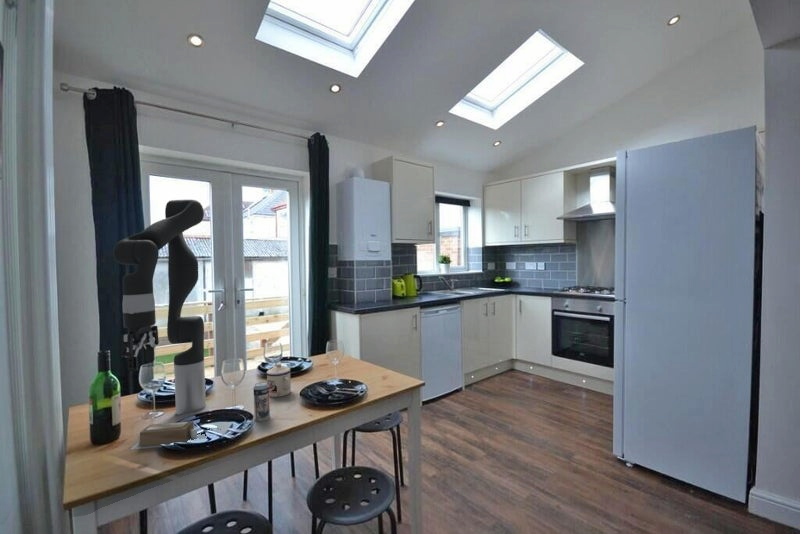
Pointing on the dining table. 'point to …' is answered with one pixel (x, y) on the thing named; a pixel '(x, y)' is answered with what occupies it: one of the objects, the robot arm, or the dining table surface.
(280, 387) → the teacup with lid
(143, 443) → the brown rectangular block
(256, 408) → the beer can
